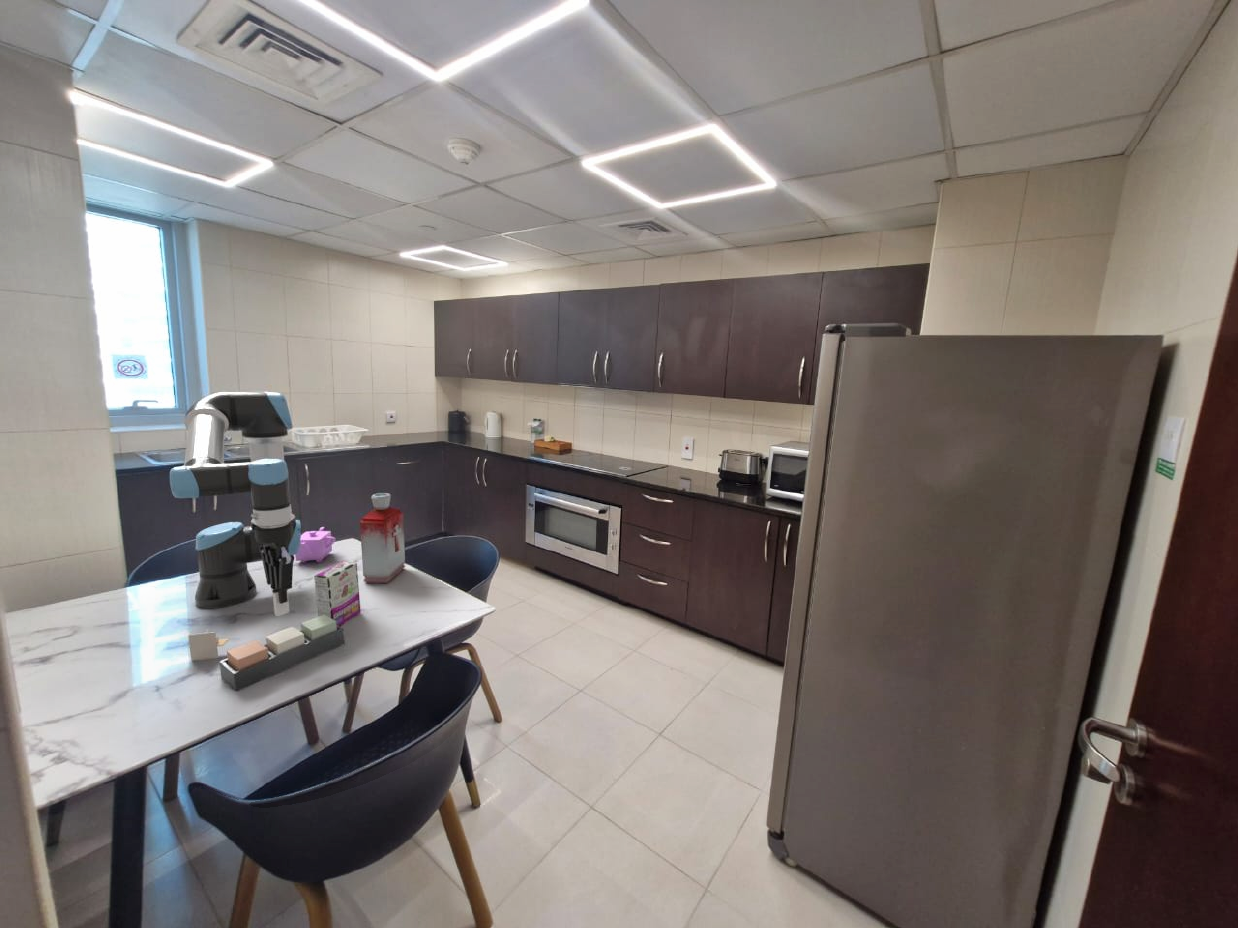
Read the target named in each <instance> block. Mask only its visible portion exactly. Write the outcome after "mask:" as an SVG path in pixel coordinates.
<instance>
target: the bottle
mask: <svg viewBox="0 0 1238 928" xmlns="http://www.w3.org/2000/svg"><path fill="white" fill-rule="evenodd" d="M391 497H392V494H390V493H387V492H377V493H375V494H372V495H371V497H370V498H371V502H372V505H373V509H372V510H371V511H369V512H368V513H367V514H366V515H365V516H363V517H362V519H361V520H360V521H359V527H360V528H359V529H360V530H359V531H360V547H361V560H362V561H361V564H362V575H363V577H364V578H363V582H365V583H367V584H368V583H369V584H385V585H386V584H388V583H389V582H390V581H391V580H392V579H393V578H394V577H395V576H396V575H398V574H399V573H400V572H401V571H403V569H405V568H406V565H405V562H406V555H405V554H406V553H405V552H406V551H405V531H404V530H405V528H404V527H405V526H404V512H403V511H402V510H401V509H400V508H396V507H390V502H391Z"/></svg>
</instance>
